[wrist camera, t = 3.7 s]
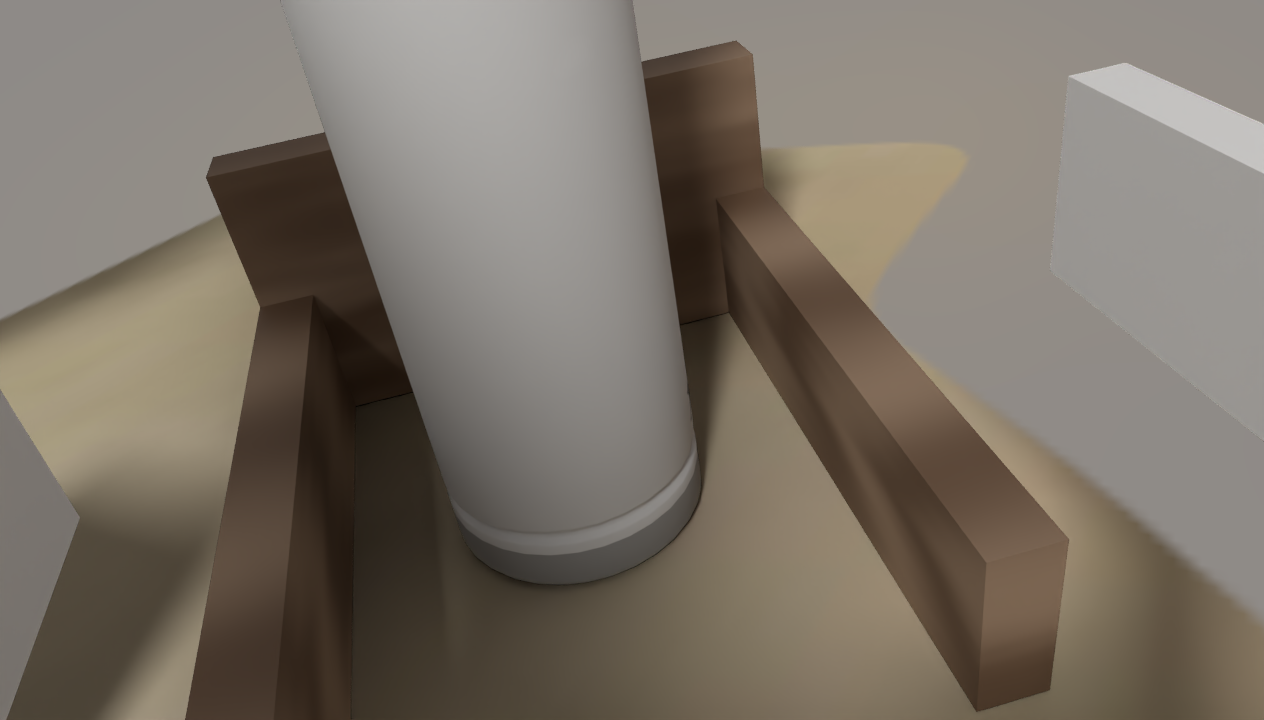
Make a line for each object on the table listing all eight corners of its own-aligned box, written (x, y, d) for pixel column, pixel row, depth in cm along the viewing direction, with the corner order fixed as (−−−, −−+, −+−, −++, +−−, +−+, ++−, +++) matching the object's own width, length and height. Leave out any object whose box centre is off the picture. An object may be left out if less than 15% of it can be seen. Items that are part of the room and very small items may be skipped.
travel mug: (747, 439, 27) (639, -567, 15) (628, 623, 22) (352, -608, 11) (551, 396, 30) (339, -476, 18) (411, 550, 25) (14, -480, 14)
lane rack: (1049, 689, 19) (1094, 343, 15) (262, 927, 18) (48, 620, 13) (751, 269, 34) (728, 34, 30) (310, 378, 33) (216, 147, 28)
